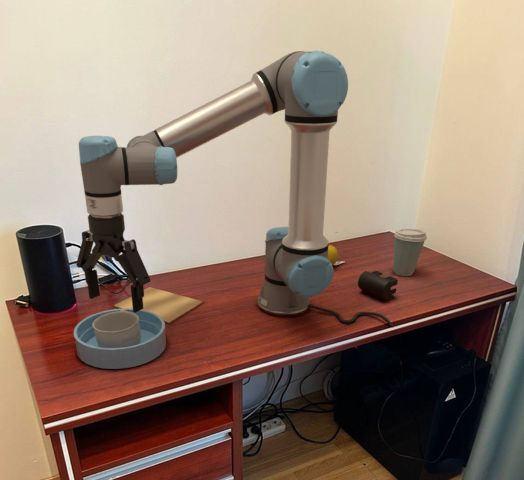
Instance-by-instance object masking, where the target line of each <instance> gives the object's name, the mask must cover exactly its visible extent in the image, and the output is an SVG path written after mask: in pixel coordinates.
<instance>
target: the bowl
mask: <svg viewBox="0 0 524 480" xmlns="http://www.w3.org/2000/svg"><path fill="white" fill-rule="evenodd" d="M126 309H127V310H128V312H132V313H135V312H133V309H129V308H126ZM120 310H121V309H119V308H114V309H107V310H104V311H99V312H97V313H94V314H90V315H89V316H86V317H85V318H83V319H82V320H81V321H79V322H78V323H77V324H76V326H75V327H74V329H73V337H74V344H75V349H76V355H77V357H78V358H79V359H80V360H81V361H82V362H83V363H84V364H86V365H89V366H90V367H91V366H92V367H94V368H100V369H107V370H120V369H128V368H129V369H130V368H134V367H137V366H138V367H139V366H141V365H145V364H148V363H149V362H152V361H154V360H156V359H157V358H158V357H160V356H161V355H162V354H163V353H164V351H165V350H166V347H167V335H166V323H165V322H164V321H163V319H162V318H161V317H160V316H159V315H157V314H155V313H153V312H149V311H146V310H140V311H138V312H136V313H135V314H136V315H138V317H139V325H140V331H141V340H140V343H139V344H137V345H134V346H129V347H123V348H101V347H99V345H98V343H97V340H96V336H95V332H94V328H93V326H92V324H93V322H94V320H95V319H97V318H98V317H100V316H102V315H104V314H107V313H111V312H117V311H120Z"/></svg>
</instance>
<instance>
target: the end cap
mask: <svg viewBox="0 0 524 480" xmlns="http://www.w3.org/2000/svg"><path fill="white" fill-rule="evenodd" d="M398 281H399V280H398V278H396V277H393V276H391V275H389V276H386V277H383V272H381V271H378V270H373V271H371V272H370V271H367V270H365V271H363V272H362V273H361V274H360V276H359V278H358V279H357V287H358V289H359V290H360V291H362V292H363V293H366V294H368V295H370V296H373V297H375V298H378V299H380V300H381V301H382V300H383V301H385V302H387V301H389V300H392V299H394V298H395V294H396V292H397V287H395V288H392V287H394V286H397V285H398Z"/></svg>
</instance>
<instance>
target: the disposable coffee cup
mask: <svg viewBox="0 0 524 480" xmlns="http://www.w3.org/2000/svg"><path fill="white" fill-rule="evenodd" d="M427 237H428V236H427V231H425V230H424V229H419V228H409V227H408V228H398V229H397V230H395V232H394V233H393V265H392V267H393V268H392V269H393V273H394V274H395V275H397V276H400V277H401V276H402V277H411V276H412V275H413V274H414V272H415V269H416V267H417V264H418V261H419V258H420V256H421V254H422V253H421V252H422V250H423V246H424V245H425V242H426V240H427Z"/></svg>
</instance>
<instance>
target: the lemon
mask: <svg viewBox="0 0 524 480" xmlns="http://www.w3.org/2000/svg"><path fill="white" fill-rule="evenodd" d="M338 257H339V254H338V250H337V248H336V247H335V245H332V244H329V245H328V260H329V261H330V262H331V264H332V266H335V265H334V264H335V263H336V261H338Z"/></svg>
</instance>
